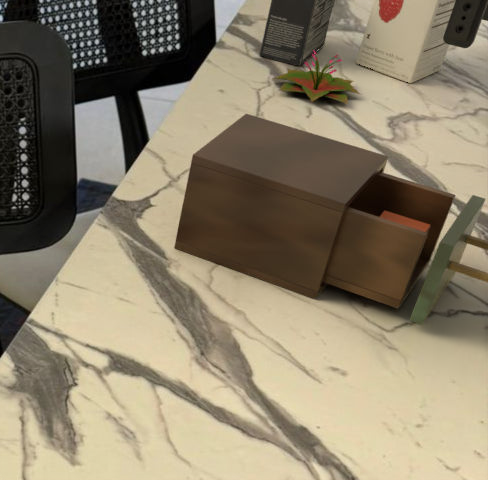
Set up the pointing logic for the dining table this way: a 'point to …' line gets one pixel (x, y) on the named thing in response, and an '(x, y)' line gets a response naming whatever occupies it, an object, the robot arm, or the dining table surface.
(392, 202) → the drawer
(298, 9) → the small box
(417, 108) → the dining table surface
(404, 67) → the rectangular carton
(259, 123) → the cabinet
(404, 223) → the block
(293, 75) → the lily flower
